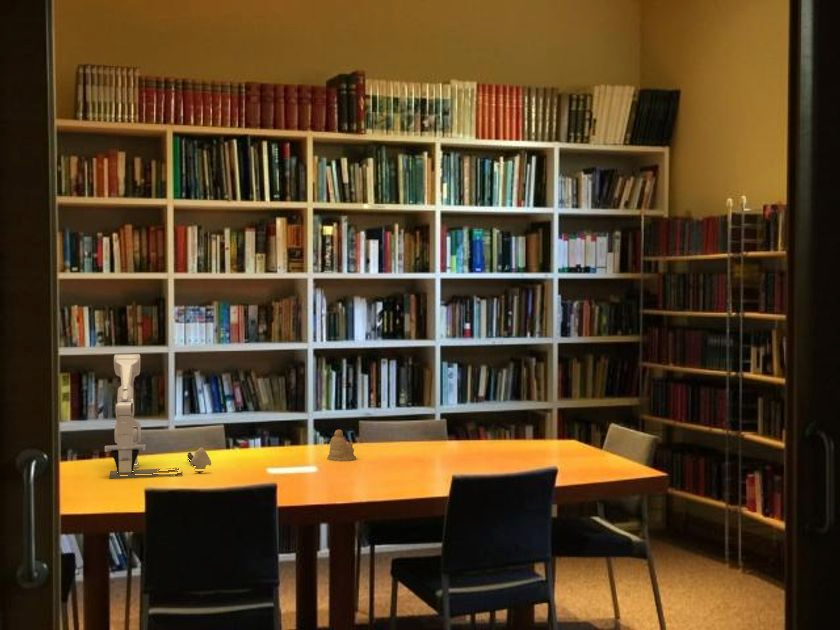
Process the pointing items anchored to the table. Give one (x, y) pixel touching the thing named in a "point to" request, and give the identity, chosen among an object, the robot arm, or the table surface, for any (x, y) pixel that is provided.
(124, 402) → the robot arm
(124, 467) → the wood-topped square block
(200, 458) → the arrowhead
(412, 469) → the table surface
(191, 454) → the dark labeled box
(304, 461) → the table surface
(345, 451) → the statue
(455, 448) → the table surface
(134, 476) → the grey slotted panel
